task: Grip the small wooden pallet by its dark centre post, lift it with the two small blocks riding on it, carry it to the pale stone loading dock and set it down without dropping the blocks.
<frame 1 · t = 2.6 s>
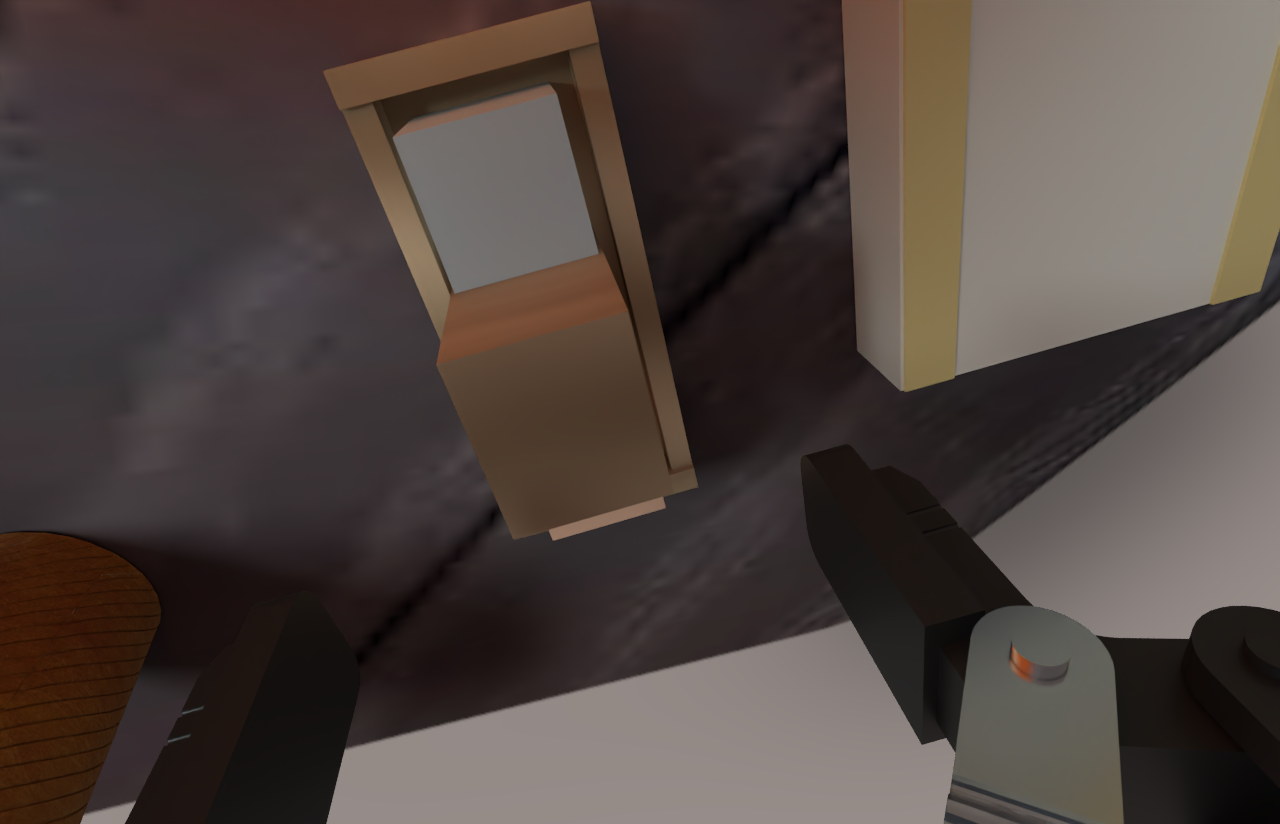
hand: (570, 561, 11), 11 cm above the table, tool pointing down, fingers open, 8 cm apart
disposable coffee cup: (60, 596, 23), on the table
dock: (1036, 126, 20), on the table
cargo a: (582, 417, 21), point 1 cm above the table, touching pallet
cargo b: (503, 170, 17), point 1 cm above the table, touching pallet
pallet: (545, 289, 20), on the table, touching cargo a, cargo b
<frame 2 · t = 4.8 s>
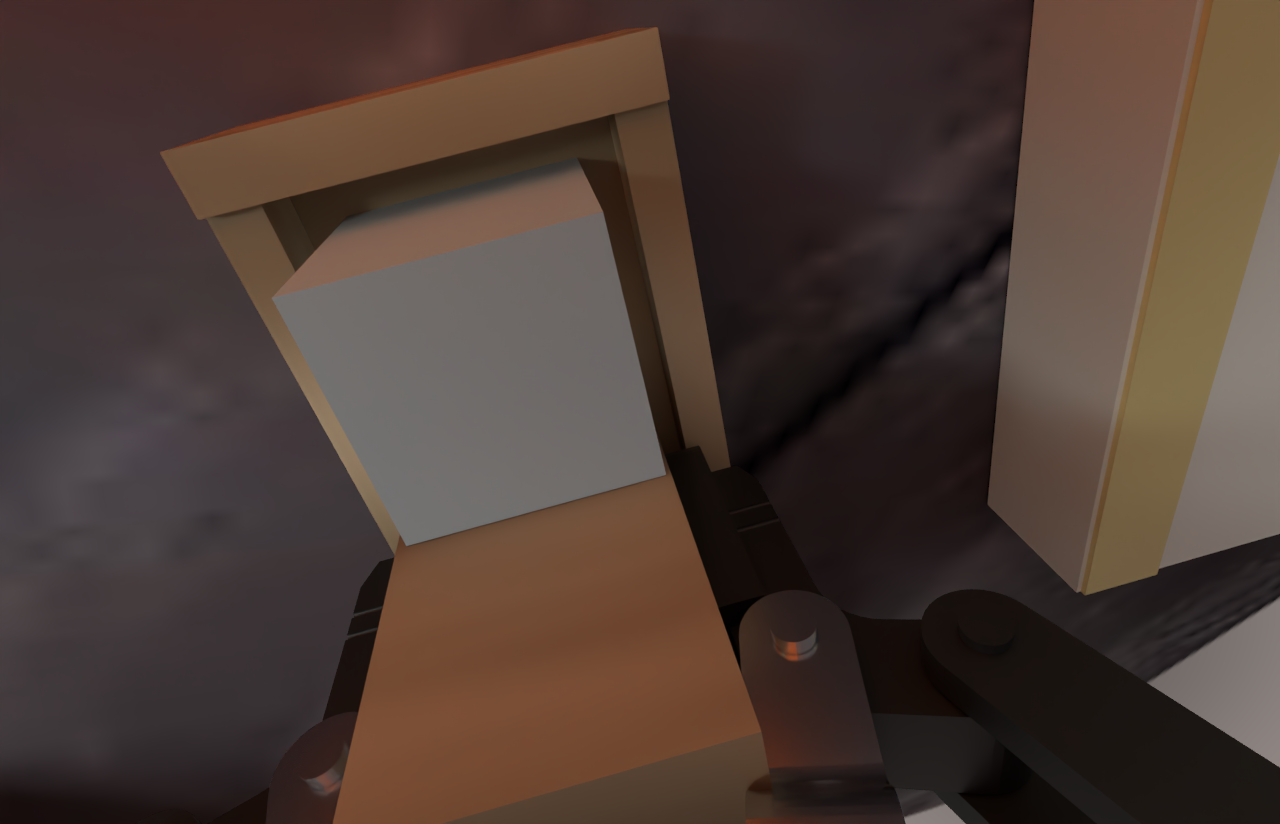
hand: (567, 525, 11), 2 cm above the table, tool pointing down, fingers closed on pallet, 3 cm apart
cargo b: (500, 295, 10), point 1 cm above the table, touching pallet
pallet: (560, 444, 14), on the table, touching cargo a, cargo b, gripper
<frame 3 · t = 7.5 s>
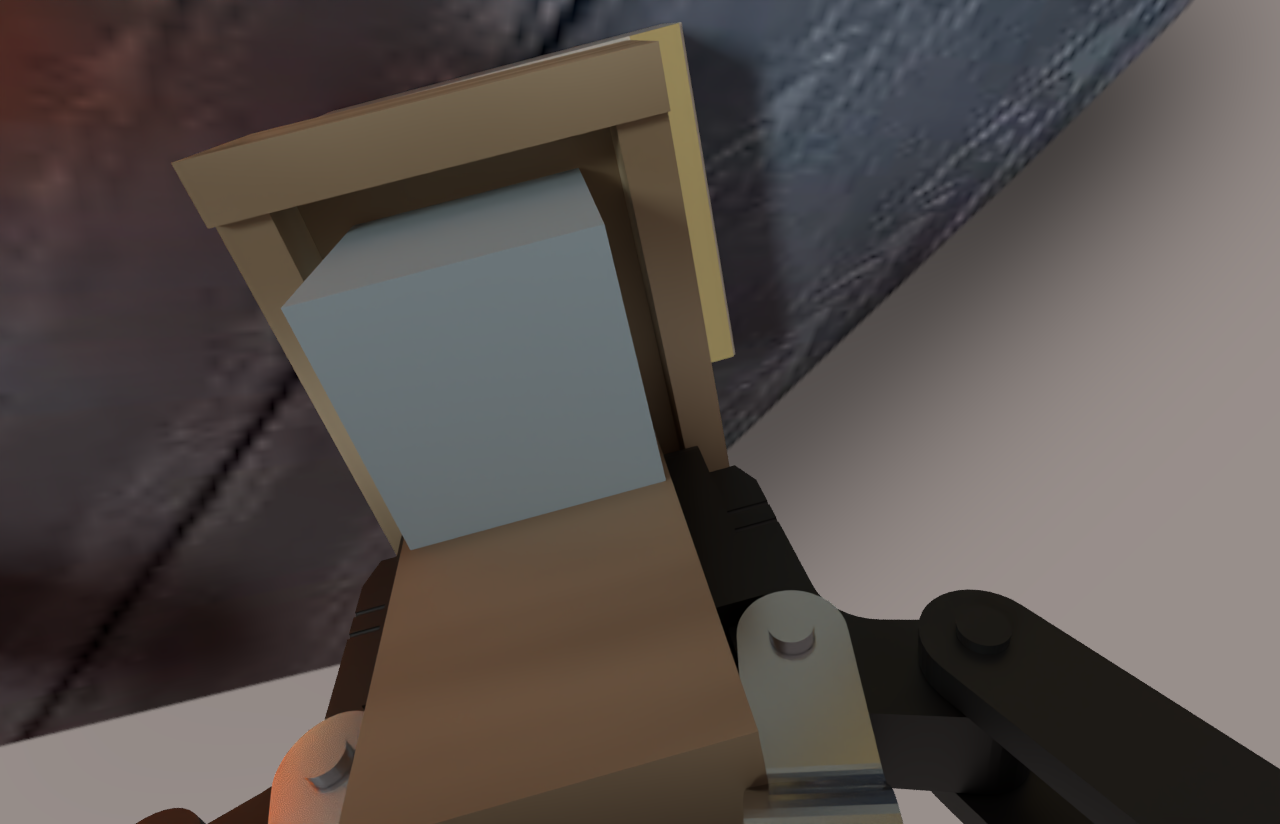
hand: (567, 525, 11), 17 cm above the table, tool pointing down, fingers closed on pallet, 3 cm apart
dock: (548, 232, 26), on the table
cargo b: (503, 302, 10), point 16 cm above the table, touching pallet
pallet: (561, 448, 14), point 15 cm above the table, touching cargo a, cargo b, gripper
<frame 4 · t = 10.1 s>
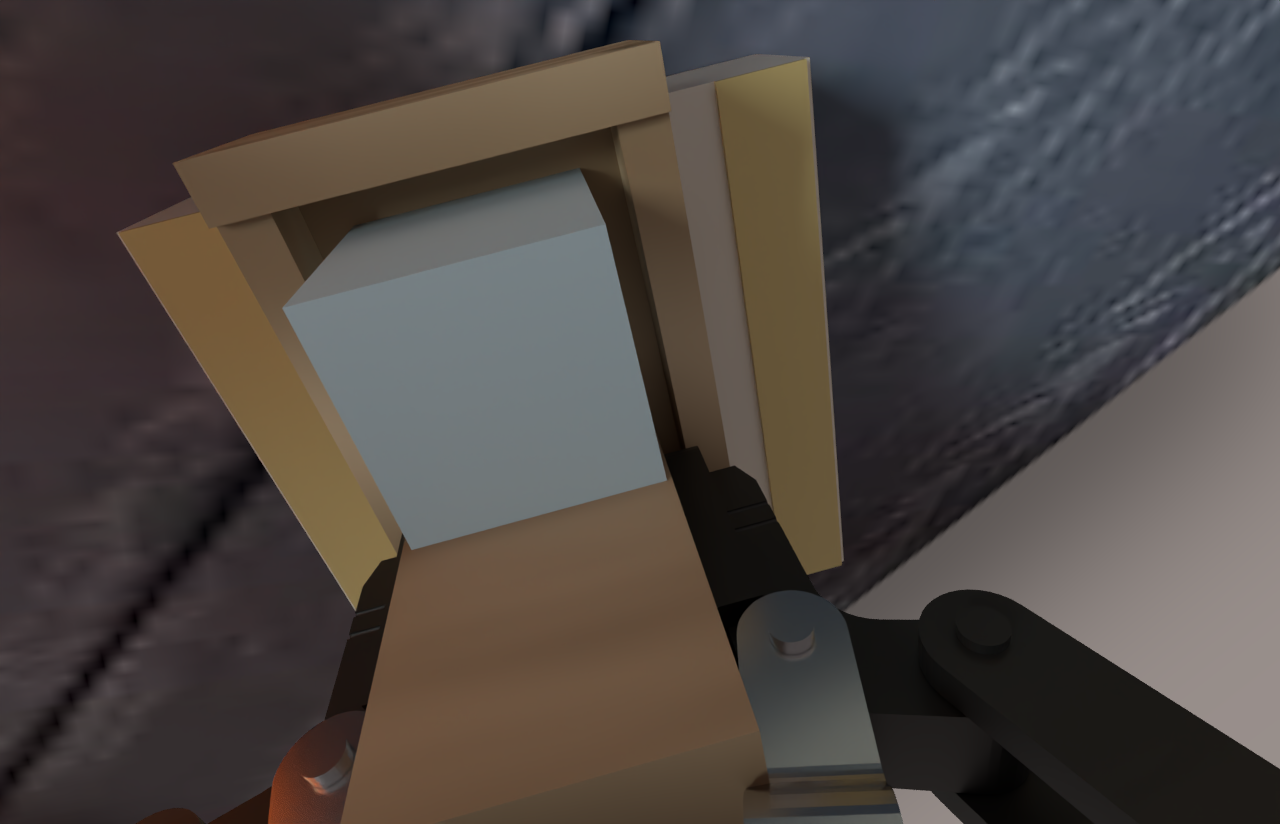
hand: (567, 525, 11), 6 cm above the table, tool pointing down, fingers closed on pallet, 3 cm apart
dock: (556, 373, 17), on the table
cargo b: (503, 302, 11), point 5 cm above the table, touching pallet
pallet: (562, 448, 14), point 3 cm above the table, touching cargo a, cargo b, gripper
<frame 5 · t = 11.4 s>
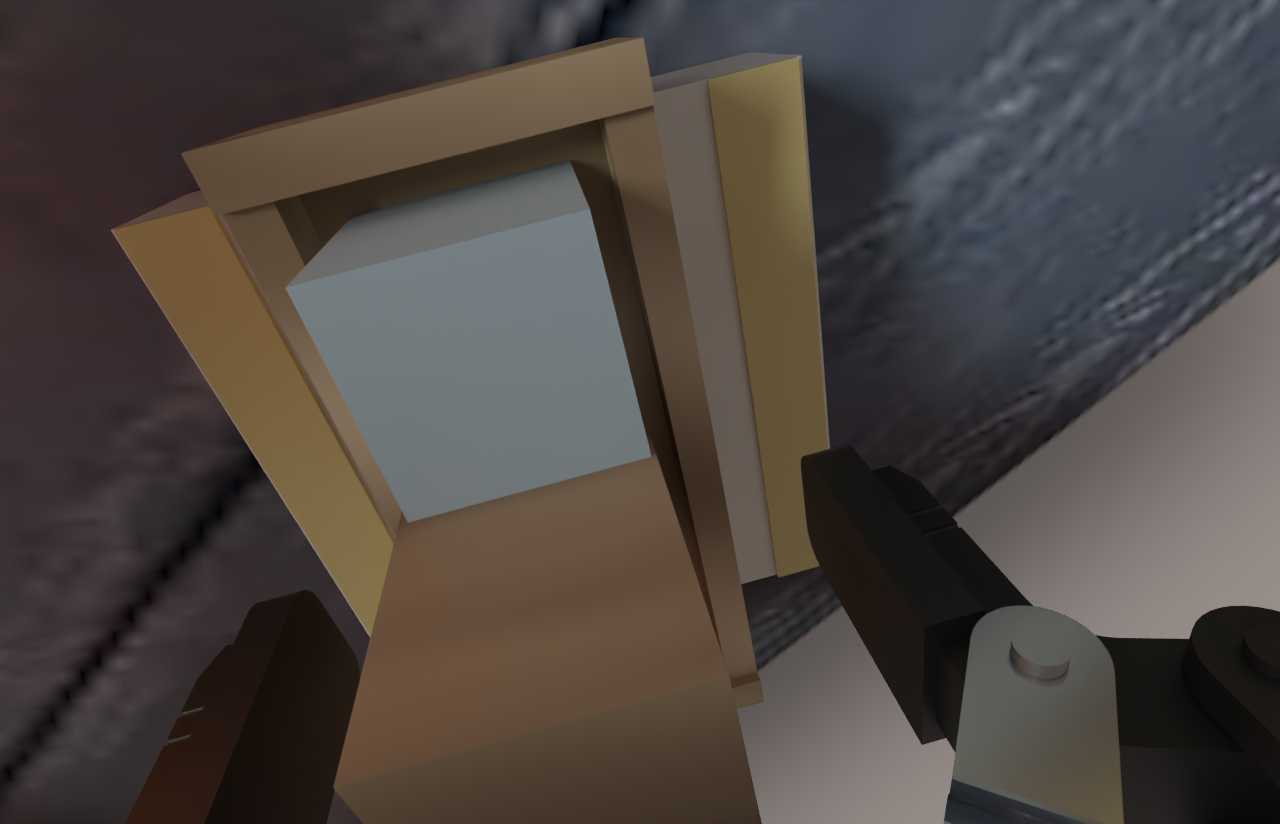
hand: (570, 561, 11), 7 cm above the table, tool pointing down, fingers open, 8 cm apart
dock: (551, 370, 17), on the table
cargo b: (497, 290, 11), point 4 cm above the table, touching pallet
pallet: (555, 434, 14), point 3 cm above the table, touching cargo a, cargo b, dock
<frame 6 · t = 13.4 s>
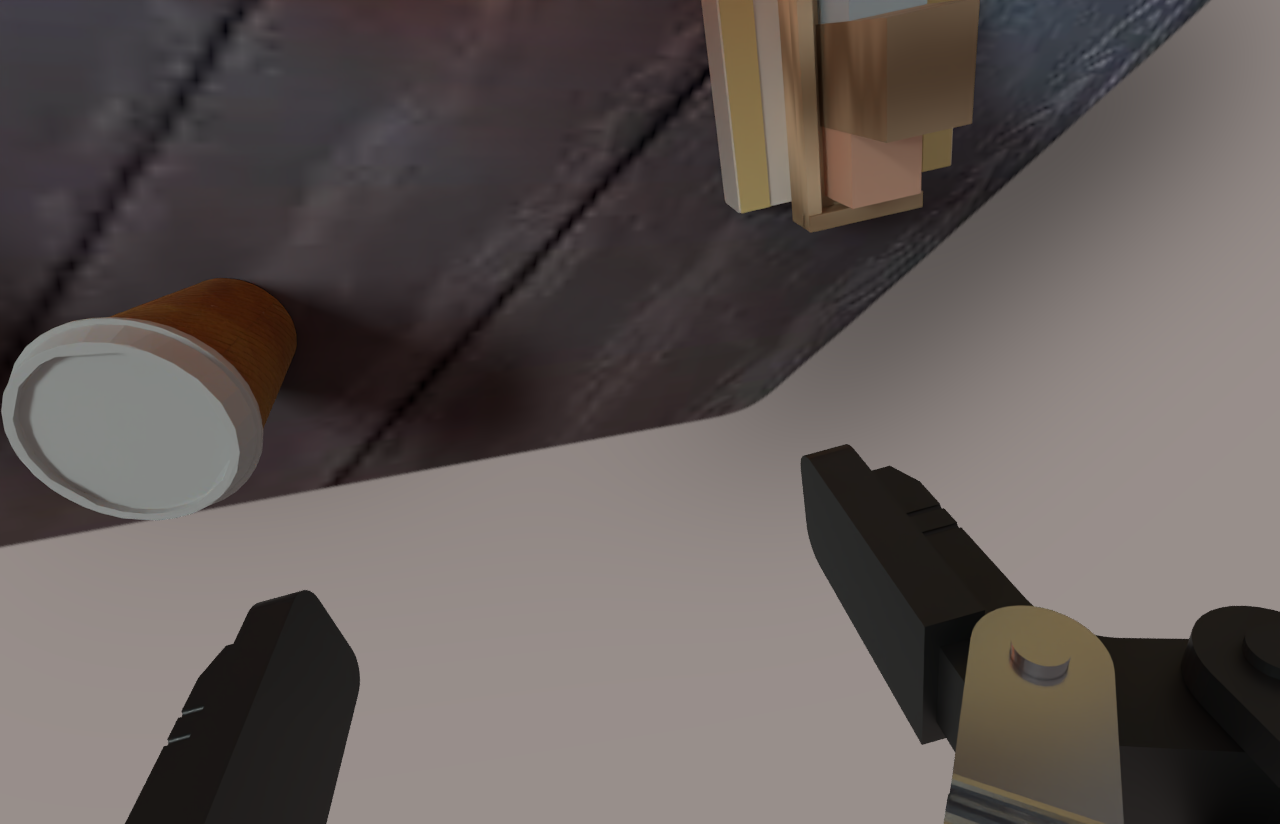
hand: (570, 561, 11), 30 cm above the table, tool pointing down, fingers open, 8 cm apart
disposable coffee cup: (239, 329, 38), on the table
dock: (819, 65, 35), on the table
cargo a: (855, 154, 33), point 4 cm above the table, touching pallet
pallet: (841, 68, 33), point 3 cm above the table, touching cargo a, cargo b, dock
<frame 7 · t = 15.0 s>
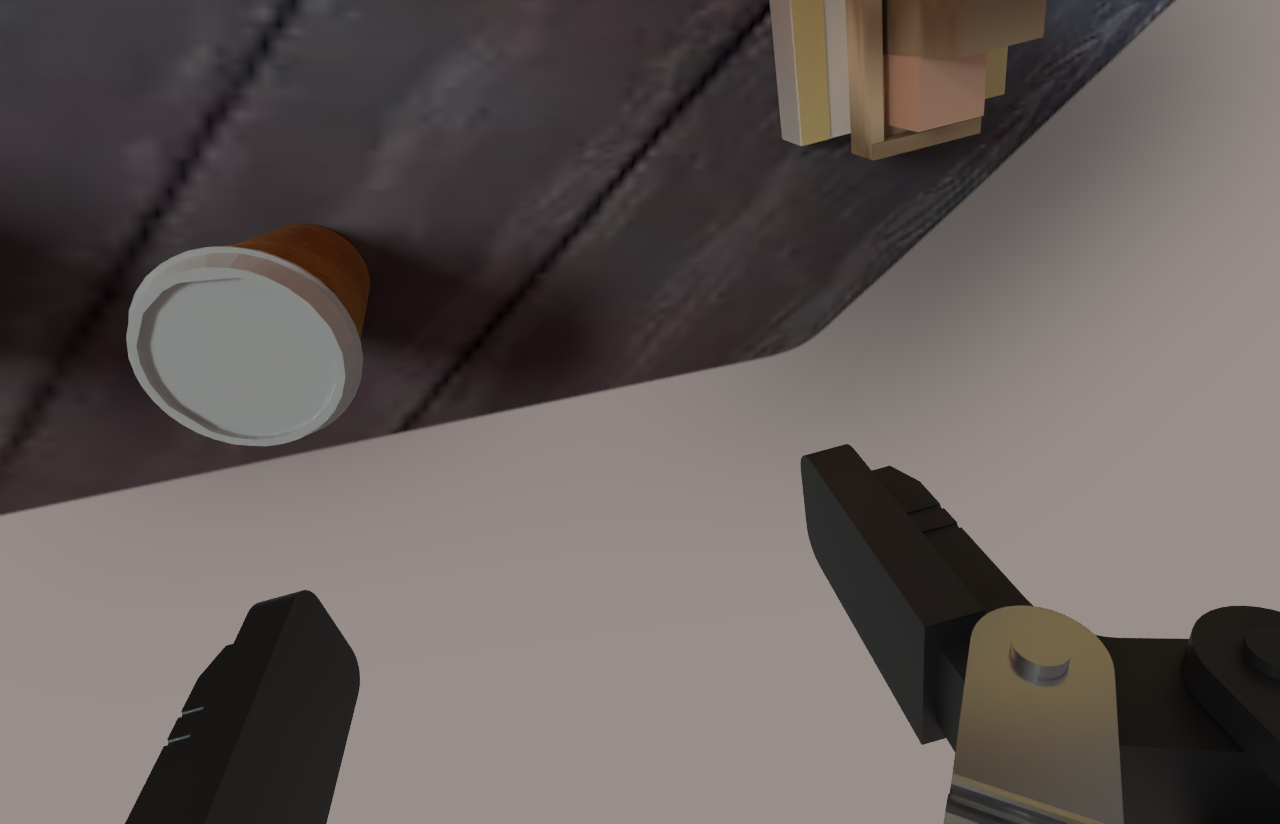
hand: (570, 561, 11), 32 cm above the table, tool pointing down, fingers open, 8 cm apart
disposable coffee cup: (314, 276, 39), on the table
cargo a: (915, 82, 34), point 4 cm above the table, touching pallet
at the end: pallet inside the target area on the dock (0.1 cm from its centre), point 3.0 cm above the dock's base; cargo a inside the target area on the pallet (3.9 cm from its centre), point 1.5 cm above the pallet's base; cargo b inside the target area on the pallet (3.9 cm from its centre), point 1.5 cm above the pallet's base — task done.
